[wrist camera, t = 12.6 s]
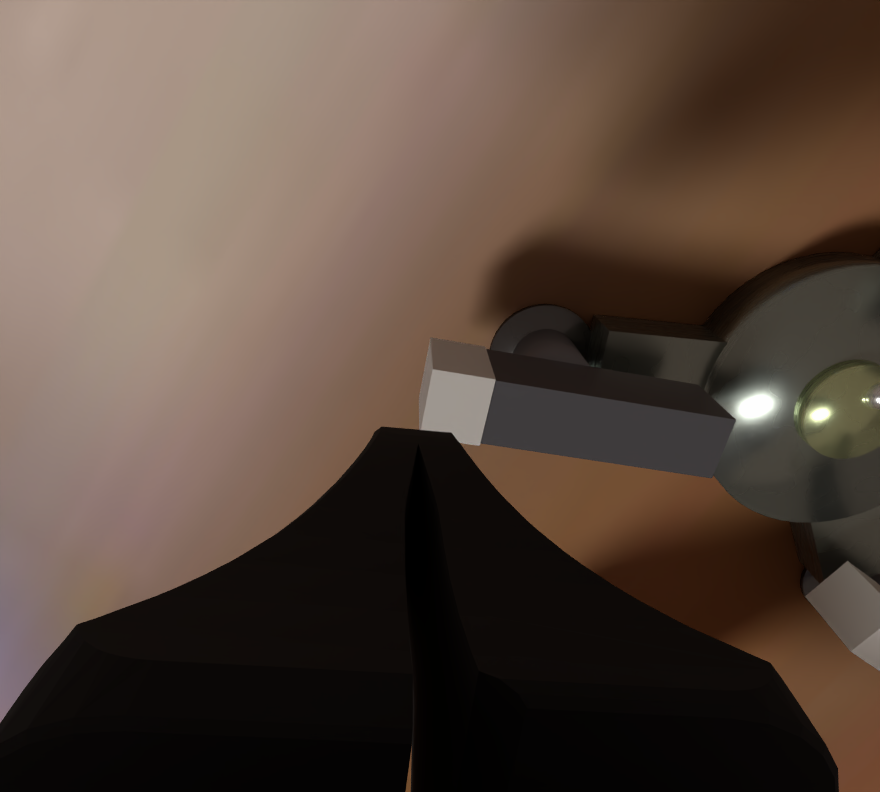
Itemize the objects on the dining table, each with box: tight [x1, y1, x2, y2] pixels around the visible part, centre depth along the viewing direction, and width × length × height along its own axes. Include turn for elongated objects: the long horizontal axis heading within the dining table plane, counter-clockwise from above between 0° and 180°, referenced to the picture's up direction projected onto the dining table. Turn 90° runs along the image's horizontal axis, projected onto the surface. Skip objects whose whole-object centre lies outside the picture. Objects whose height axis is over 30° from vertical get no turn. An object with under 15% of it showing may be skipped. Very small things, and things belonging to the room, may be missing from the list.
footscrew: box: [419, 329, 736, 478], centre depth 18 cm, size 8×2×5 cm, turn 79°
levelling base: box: [490, 249, 880, 600], centre depth 20 cm, size 20×18×3 cm
